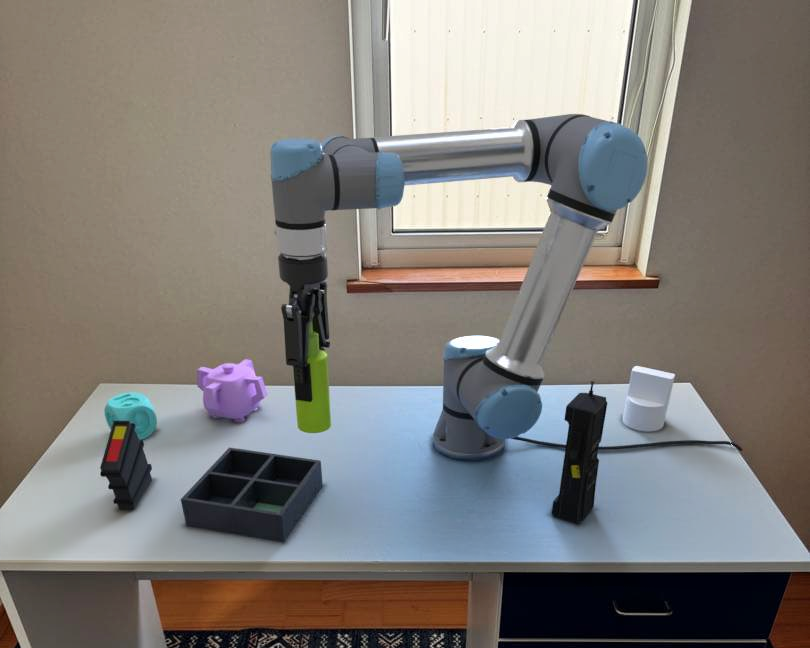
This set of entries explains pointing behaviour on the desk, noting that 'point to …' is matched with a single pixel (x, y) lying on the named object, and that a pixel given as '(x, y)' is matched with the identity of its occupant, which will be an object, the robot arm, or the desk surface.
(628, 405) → the cylinder with rectangular tab
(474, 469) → the desk surface
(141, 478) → the black ridged block
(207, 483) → the rack
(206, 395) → the pot
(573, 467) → the portable radio
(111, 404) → the decorative dice
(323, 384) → the soap dispenser
